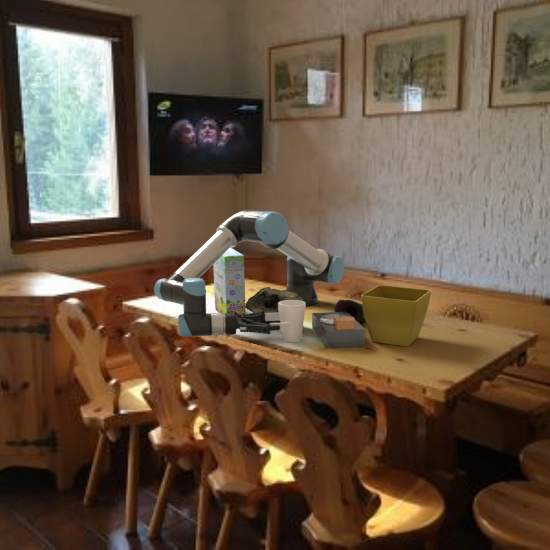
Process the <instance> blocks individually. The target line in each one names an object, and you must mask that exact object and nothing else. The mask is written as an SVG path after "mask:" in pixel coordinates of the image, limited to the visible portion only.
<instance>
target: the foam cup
mask: <svg viewBox="0 0 550 550" xmlns="http://www.w3.org/2000/svg"><path fill="white" fill-rule="evenodd" d="M278 310H279V315H280V322H281V323H286V322H289V323H290V331H281V335H282V340H283V341H284V342H287V343H297V342H300V341H302V336H303V329H304V328H303V327H304V322H305V313H306V310H307V307H306V303H305V302H304V301H300V300H284V301H280V302H278Z"/></svg>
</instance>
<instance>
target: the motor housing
mask: <svg viewBox="0 0 550 550" xmlns="http://www.w3.org/2000/svg"><path fill="white" fill-rule="evenodd" d="M311 329H312V331H313V332H314V334H315V335H316V336H317V338H318V339H319V341H320V342H321V343H322V344H323V346H324V348H326V349H344V348H365V346H366V342H365V341H366V329H365V328H364V327H363V326H362V325H361V324H360V323H358V322H357V321H356V320H355V318H354V317H352V316H351V315H350V314H349V313H348V312H335V311H331V312H330V311H329V312H311Z"/></svg>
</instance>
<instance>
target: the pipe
mask: <svg viewBox="0 0 550 550" xmlns="http://www.w3.org/2000/svg"><path fill="white" fill-rule="evenodd" d="M334 312H348V313H349V314H350V315H351V316H352V317H354V318H355V320H356V321H357V322H358V323H359V324H360V323H362V322H364V321H365V317H364V312H363V306H362V303H359V302H357V301H356V300H355V301H354V300H352V299H338V300H337V302H336V304H335V305H334ZM365 322H366V321H365Z"/></svg>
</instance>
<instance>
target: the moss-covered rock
mask: <svg viewBox="0 0 550 550" xmlns="http://www.w3.org/2000/svg"><path fill="white" fill-rule="evenodd" d="M284 300H300V301H304V300H303V298H302V297H301V296H298V295H297V293H296V292H294V291H290V290H286V289H285V290H283V289H282V290H280V289H276V288H271V287H270V286H268V287H267V286H266V287H263V288H261V289H259V291H257V292H256V293H255V294H254V295H252V296H250V297H249V298H247V301H245V309H246V310H247V311H250V312H251V313H256V312H262V311H265V313H279V310H278V302H280V301H284ZM273 323H281V322H280V321H273Z"/></svg>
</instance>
